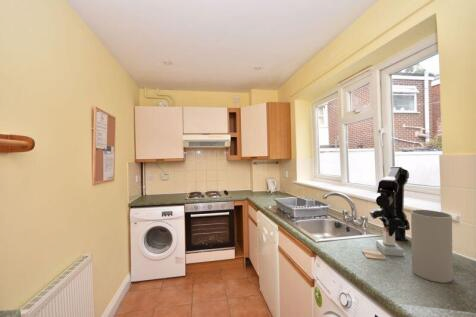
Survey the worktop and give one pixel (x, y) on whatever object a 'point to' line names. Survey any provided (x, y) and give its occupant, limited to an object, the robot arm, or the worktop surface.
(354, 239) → the worktop surface
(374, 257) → the mat
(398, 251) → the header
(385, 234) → the plug
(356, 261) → the worktop surface
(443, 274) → the cylinder vase
